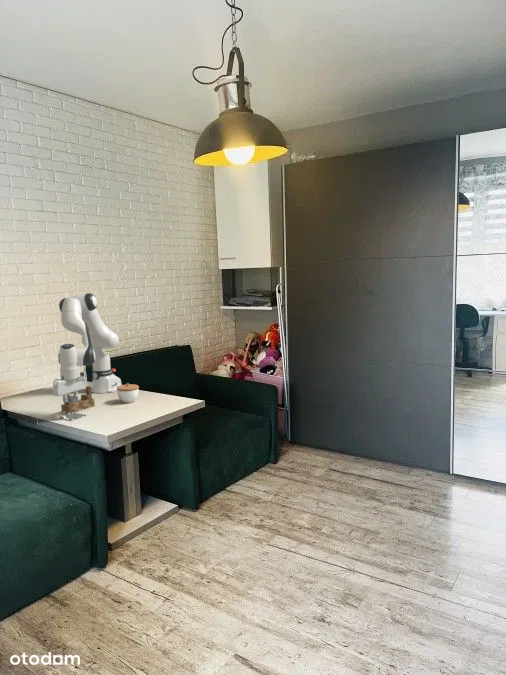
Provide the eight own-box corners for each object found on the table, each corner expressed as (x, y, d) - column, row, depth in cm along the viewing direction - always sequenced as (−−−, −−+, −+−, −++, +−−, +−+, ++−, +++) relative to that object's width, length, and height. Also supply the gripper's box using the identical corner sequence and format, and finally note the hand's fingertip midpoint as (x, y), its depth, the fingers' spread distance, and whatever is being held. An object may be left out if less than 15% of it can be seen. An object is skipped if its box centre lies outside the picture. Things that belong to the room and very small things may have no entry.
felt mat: (73, 413, 272) (73, 412, 272) (86, 416, 267) (86, 414, 267) (58, 418, 264) (58, 417, 264) (71, 420, 259) (70, 419, 259)
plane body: (87, 404, 289) (86, 385, 288) (94, 406, 286) (93, 386, 285) (61, 412, 274) (60, 392, 272) (69, 414, 271) (67, 393, 269)
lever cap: (78, 401, 264) (77, 395, 264) (72, 403, 261) (72, 396, 261) (68, 400, 268) (68, 393, 267) (63, 401, 264) (62, 395, 264)
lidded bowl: (123, 398, 304) (122, 380, 302) (142, 399, 301) (141, 381, 299) (113, 403, 291) (112, 385, 290) (133, 404, 289) (132, 386, 287)
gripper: (58, 379, 252) (59, 405, 254) (87, 372, 270) (89, 396, 272) (49, 378, 254) (50, 404, 256) (79, 371, 273) (80, 395, 274)
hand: (70, 400), depth 264 cm, fingers closed on lever cap, 4 cm apart
